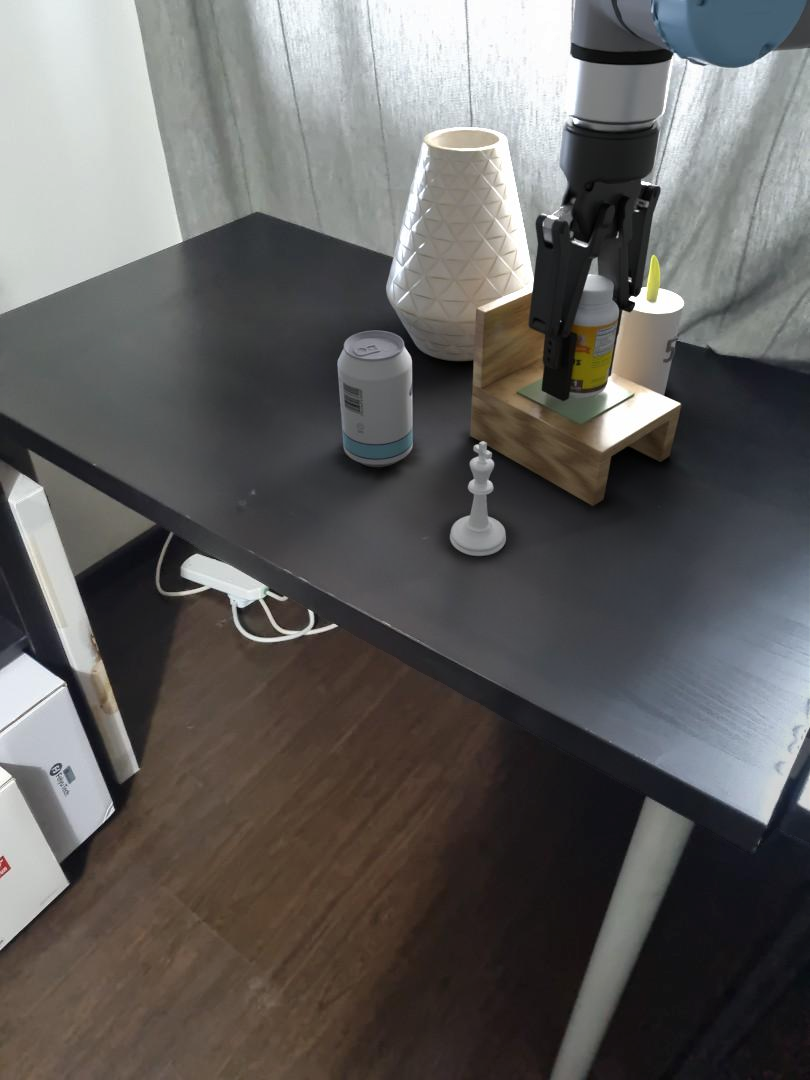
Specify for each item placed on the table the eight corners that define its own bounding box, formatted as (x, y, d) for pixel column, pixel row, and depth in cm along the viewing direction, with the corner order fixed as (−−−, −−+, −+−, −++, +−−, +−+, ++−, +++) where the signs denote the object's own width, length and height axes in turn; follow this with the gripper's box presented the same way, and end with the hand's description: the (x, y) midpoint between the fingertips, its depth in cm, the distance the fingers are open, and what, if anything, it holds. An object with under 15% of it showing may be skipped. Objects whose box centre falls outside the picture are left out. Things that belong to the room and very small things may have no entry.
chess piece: (478, 513, 76) (484, 419, 69) (517, 539, 73) (526, 444, 66) (438, 535, 73) (439, 441, 67) (476, 564, 70) (482, 468, 64)
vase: (478, 298, 110) (486, 109, 95) (559, 351, 99) (583, 145, 84) (363, 329, 104) (352, 132, 89) (435, 390, 92) (437, 174, 77)
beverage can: (423, 463, 82) (423, 353, 74) (357, 480, 80) (350, 368, 72) (398, 428, 86) (395, 322, 79) (335, 443, 85) (326, 335, 77)
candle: (643, 411, 88) (670, 276, 79) (594, 389, 92) (615, 256, 82) (677, 391, 91) (708, 258, 82) (629, 370, 95) (652, 240, 85)
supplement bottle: (536, 381, 80) (546, 278, 73) (580, 366, 82) (594, 265, 75) (573, 406, 76) (587, 301, 69) (619, 390, 78) (637, 286, 72)
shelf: (669, 455, 82) (700, 324, 73) (592, 506, 76) (615, 370, 67) (547, 395, 91) (560, 272, 82) (470, 435, 85) (475, 308, 76)
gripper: (644, 90, 71) (606, 339, 86) (493, 131, 61) (480, 402, 76) (722, 105, 66) (667, 364, 81) (572, 152, 57) (541, 435, 72)
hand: (576, 382), depth 79 cm, fingers closed on supplement bottle, 5 cm apart
